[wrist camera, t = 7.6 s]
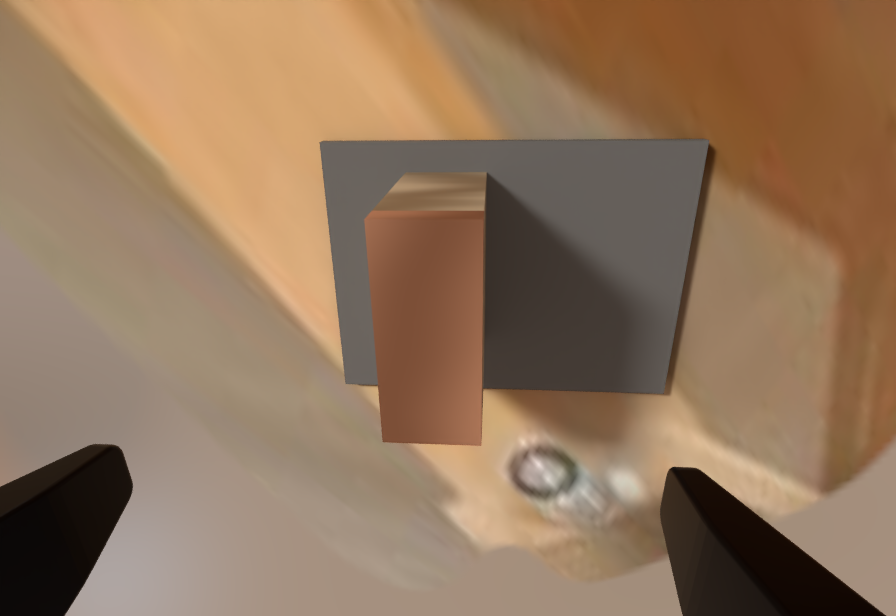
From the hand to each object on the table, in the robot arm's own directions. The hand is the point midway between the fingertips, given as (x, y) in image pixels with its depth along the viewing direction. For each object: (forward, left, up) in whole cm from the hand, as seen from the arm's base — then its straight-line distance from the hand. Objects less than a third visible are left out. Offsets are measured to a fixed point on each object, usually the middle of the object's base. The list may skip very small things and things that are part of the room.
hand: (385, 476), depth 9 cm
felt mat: (-2, 0, -11) cm, 11 cm away
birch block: (0, 0, -10) cm, 11 cm away
